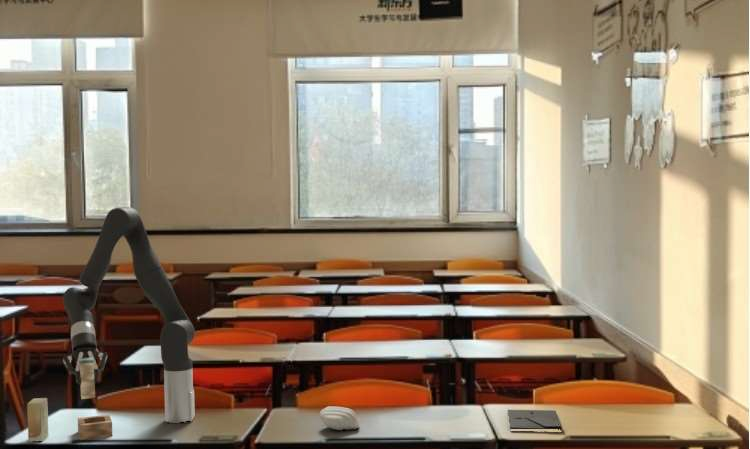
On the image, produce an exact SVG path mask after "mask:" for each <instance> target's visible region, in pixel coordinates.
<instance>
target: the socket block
mask: <svg viewBox="0 0 750 449" xmlns="http://www.w3.org/2000/svg"><path fill="white" fill-rule="evenodd" d="M77 434H78V438H79V440H80V441H82V440H91V439H98V438H105V437H113V421H112V418H111V416H110V414H100V415H94V416H85V417H78V418H77Z"/></svg>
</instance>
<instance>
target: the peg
mask: <svg viewBox="0 0 750 449" xmlns="http://www.w3.org/2000/svg"><path fill="white" fill-rule="evenodd" d="M79 364H80V376H81V385H79V386H80V397H81V398H80V399H81V400H87V399H88V400H89V399H93V398H96V389H95V388H96V387H95V385H96V383H95V382H94V359H93V357H90V358H80V359H79Z"/></svg>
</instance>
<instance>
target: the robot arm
mask: <svg viewBox="0 0 750 449" xmlns="http://www.w3.org/2000/svg"><path fill="white" fill-rule="evenodd" d="M122 237H124V239H125V240H126V242H127V244H128V247H129V249H130V251H131V256H132V257H131V258H132V268H133V274H134V276H135V280H137V283H138V285H139V287H140V289H141V291H142V292H143V294H144V295H145V296H146V298H147V299H148V300H149V301H150V302H151V303H152V304H153V306H155V307H156V308H157V310H158V311H159V312H160V314H161V316H162V318H163V320H164V322H165V325H164V326H163V327H162V329H161V331H160V335H159V336H160V337H159V338H160V339H159V340H160V354H161V361H162V364H163V378H164V380H163V381H164V382H163V384H164V387H163V388H164V420H165V423H168V422H169V423H168V424H181V423H180V422H184V423H187V422H186V421H190V422H193V421H192V420H194V419H195V417H196V414H195V412H196V411H195V410H196V408H195V406H196V405H195V389H194V385H193V383H194V380H193V379H194V378H193V377H194V376H193V374H194V372H193V359H192V358H190V356H189V346H188V345H190V344H191V343H192V342H193V341H194V338H195V334H196V332H195V327H194V325H193V323H192V321H191V320H190V318H189V317H188V315H187V313H186V312H185V310H184V308H183V307H182V305H181V303H180V302H179V299H178V297H177V296H176V292H175V291H174V288H173V287H172V285H171V282H170V280H169V278H168V275H167V274H166V272H165V270H164V269H165V268H164V267H163V265H162V263H161V261H160V260H159V258H158V255H157V254H156V251H155V249H154V247H153V245H152V244H151V240H150V239H149V235H148V233H147V230H146V228H145V226H144V221H143V220H142V217H141V215H140V213H139V212H138V211H137V210H136V209H135V208H133V207H132V206H131V207H130V206H121V207H115V208H112V209H110V210H109V211H108V213H107V215H106V216H105V219H104V222H103V224H102V228H101V230H100V233H99V236H98V239H97V242H96V244H95V247H94V249H93V251H92V253H91V254H90V257H89V260H88V261H87V263H86V264H85V266H84V268H83V270H82V272H81V273H80V275H79V276H80V277H79V282H80V284H82V285H83V286H85V287H86V288H87V289H82V288H78V287H73V286H72V287H68V288H67V289H66V290H65V291H64V293H63V296H62V303H63V306H64V309H65V311H66V313H67V316H68V318H69V320H70V322H69V323H70V341H71V350H72V352H71V353H70V355H68V356H67V355H64V356H63V357H62V363H63V365H64V366H65V368H66V370H67V372H68V374H69V375H70V376H71V375H75V381H76V384H78V385H79V386H80V385H81V376H80V364H79V359H80V358H90V357H93V359H94V382H95V384H96V383H97V382H99V380H100V376H99V372H103V371H104V369H105V366H106V362H107V359H108V352H107V351H104V352H100V351H99V350H98V347H97V346H98V345H97V338H96V330H95V327H94V326H95V325H94V318H93V313H92V312H91V311H92V309H94V307H95V305H96V302H97V300H98V299H97V298H98V293H99V289H100V286H101V284H102V282H103V280H104V279H105V277H106V275H107V272H108V270H109V268H110V265H111V263H112V262H111V261H112V254H113V252H114V249H115V247H116V245H117V243H118V242H119V241H120V239H121V238H122ZM98 358H99V360H100V362H99V365H98V364H97V362H96V361H97V359H98ZM72 361H74V363H76V365H75V367H73V365H72ZM194 416H195V417H194ZM193 418H194V419H193Z"/></svg>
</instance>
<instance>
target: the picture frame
mask: <svg viewBox="0 0 750 449" xmlns="http://www.w3.org/2000/svg"><path fill="white" fill-rule="evenodd" d="M508 416H509V419H508V424H509V423H510V426H509V430H510V429H558V430H559V429H560V430H562V431H563V425H562V422H561V421H560V419H559V417H558V414H557V411H556V410H550V409H549V410H548V409H545V410H544V409H541V410H540V409H507V417H508Z"/></svg>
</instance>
